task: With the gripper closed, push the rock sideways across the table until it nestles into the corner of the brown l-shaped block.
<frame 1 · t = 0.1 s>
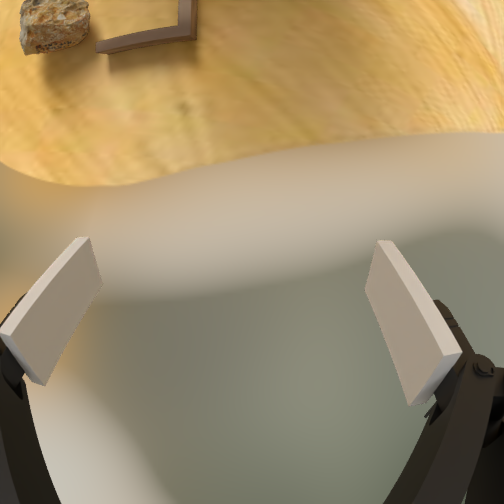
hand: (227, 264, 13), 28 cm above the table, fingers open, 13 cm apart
rock: (74, 20, 26), on the table
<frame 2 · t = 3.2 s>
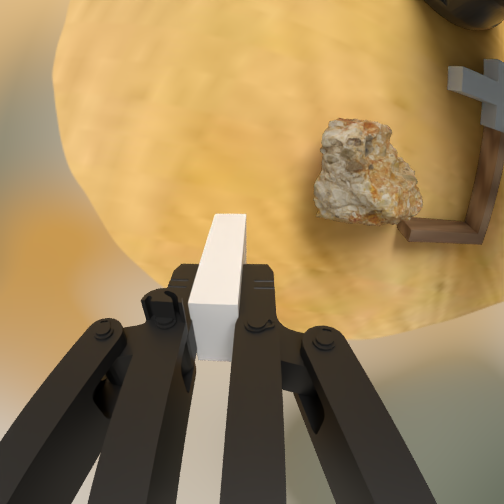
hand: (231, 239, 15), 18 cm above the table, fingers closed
brown l-shaped block: (478, 181, 29), on the table
rock: (358, 162, 30), on the table
t block: (474, 87, 23), on the table
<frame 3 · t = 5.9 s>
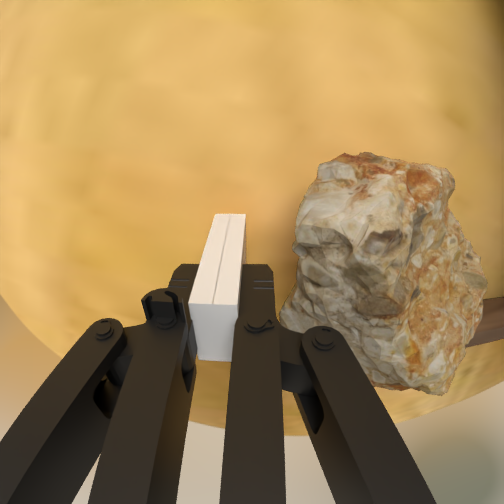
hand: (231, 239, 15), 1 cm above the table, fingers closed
rock: (375, 228, 16), on the table, touching gripper
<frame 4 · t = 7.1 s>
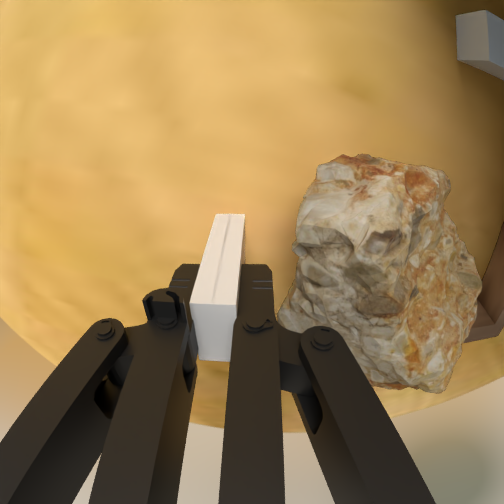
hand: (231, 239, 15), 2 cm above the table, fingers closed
rock: (369, 229, 17), on the table, touching gripper
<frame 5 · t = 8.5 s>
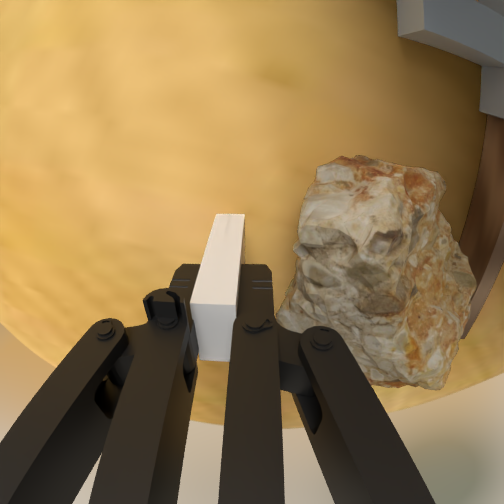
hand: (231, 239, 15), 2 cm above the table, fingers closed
brown l-shaped block: (472, 223, 16), on the table
rock: (363, 230, 17), on the table, touching gripper
t block: (463, 36, 10), on the table
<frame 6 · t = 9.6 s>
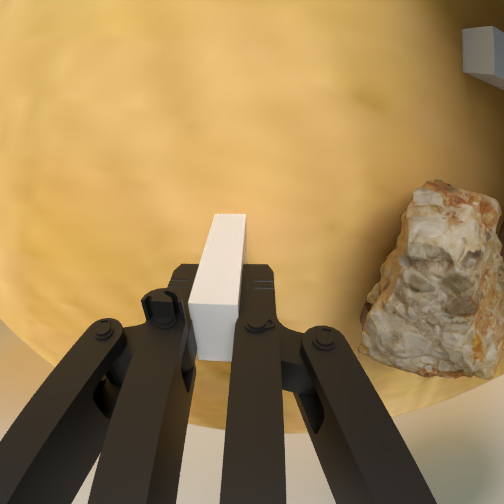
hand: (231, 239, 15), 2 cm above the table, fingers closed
rock: (423, 241, 17), on the table
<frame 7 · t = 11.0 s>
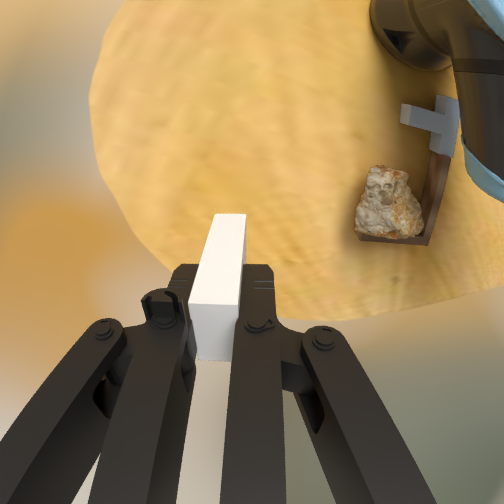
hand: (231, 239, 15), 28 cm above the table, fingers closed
brown l-shaped block: (426, 194, 41), on the table
rock: (381, 193, 42), on the table
t block: (425, 119, 35), on the table
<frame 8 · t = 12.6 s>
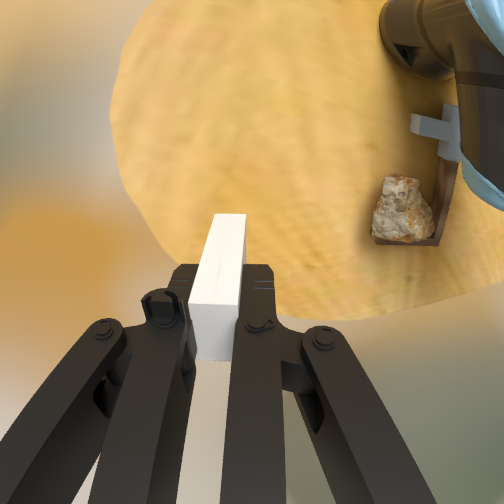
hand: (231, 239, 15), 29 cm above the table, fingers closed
brown l-shaped block: (436, 197, 43), on the table
rock: (394, 198, 44), on the table
t block: (433, 127, 37), on the table
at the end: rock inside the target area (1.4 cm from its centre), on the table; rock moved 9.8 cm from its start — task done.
